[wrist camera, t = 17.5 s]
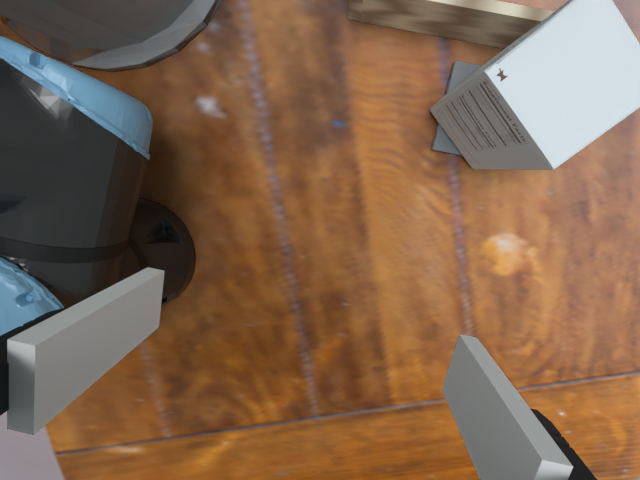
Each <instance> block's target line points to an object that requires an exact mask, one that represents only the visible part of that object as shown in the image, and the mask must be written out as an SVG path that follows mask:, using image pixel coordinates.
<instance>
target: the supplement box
mask: <svg viewBox="0 0 640 480" xmlns="http://www.w3.org/2000/svg"><path fill="white" fill-rule="evenodd" d="M638 108H640V44H639V42H638V40H637V39H636V37H635V36H634V34H633V33H632V31H631V29H630V28H629V26H628V25H627V23H626V21H625V20H624V18H623V17H622V15H621V13H620V12H619V10H618V9H617V7H616V5H615V4H614V2H613V1H612V0H569V1H568V2H566V3H565V4H564V5H562V6H561V7H560V8H558V9H557V10H556V11H554V12H553V13H552V14H551V15H549V16H548V17H547V18H546V19H544V20H543V21H542V22H540V23H539V24H538V25H537V26H535V27H534V28H532V29H531V30H529V31H528V32H527V33H525V34H524V35H522V36H521V37H520V38H518V39H517V40H516V41H514V42H513V43H512V44H510V45H509V46H507V47H506V48H505V49H503V50H502V51H501V52H499V53H498V54H497V55H495V56H494V57H492V58H491V59H489V60H488V61H487V62H485V63H484V64H483V65H482V66H480V67H479V68H478V69H477V70H475V71H474V72H473V73H472V74H471V75H469V76H468V77H467V78H466V79H464V80H463V81H462V82H461V83H459V84H458V85H457V86H456V87H455V88H453V89H452V90H451V91H450V92H449V93H447V94H446V95H445V96H444V97H443V98H441V99H440V100H439V101H438V102H437V103H436V104H434V105H433V106H432V107H431V108H430V111H431V113H432V114H433V115H434V117H435V118H436V120H437V121H438V122H439V124H440V125H441V126H442V128H443V129H444V131H445V132H446V133H447V135H448V136H449V137H450V139H451V140H452V141H453V143H454V144H455V146H456V147H457V148H458V150H459V151H460V152H461V154H462V155H463V157H464V158H465V159H466V161H467V162H468V163H469V165H470V166H471V167H472V169H521V170H554V169H556V168H557V167H558V166H560V165H561V164H562V163H564V162H565V161H567V160H568V159H569V158H571V157H572V156H574V155H575V154H576V153H578V152H579V151H580V150H582V149H583V148H584V147H586V146H587V145H589V144H590V143H591V142H593V141H594V140H595V139H597V138H598V137H600V136H601V135H602V134H604V133H605V132H606V131H608V130H609V129H611V128H612V127H613V126H615V125H616V124H617V123H619V122H620V121H622V120H623V119H625V118H626V117H627V116H629V115H630V114H631V113H633V112H634V111H636V110H637V109H638Z"/></svg>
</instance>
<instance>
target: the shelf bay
mask: <svg viewBox="0 0 640 480" xmlns="http://www.w3.org/2000/svg"><path fill="white" fill-rule="evenodd" d="M553 12H554V11H550V10H545V9H539V8H534V7H529V6H523V5H518V4H512V3H507V2H501V1H496V0H348V20H353V21H359V22H364V23H369V24H375V25H380V26H385V27H391V28H396V29H401V30H407V31H412V32H417V33H423V34H428V35H433V36H439V37H444V38H449V39H455V40H460V41H465V42H471V43H476V44H481V45H487V46H492V47H497V48H503V49H505V48H506V47H507V46H509V45H510V44H512V43H513V42H514V41H516V40H517V39H518V38H520V37H521V36H522V35H524V34H525V33H527V32H528V31H529V30H531V29H532V28H534V27H535V26H537V25H538V24H539V23H540V22H542V21H543V20H544V19H546V18H547V17H548V16H549V15H551V14H552V13H553Z"/></svg>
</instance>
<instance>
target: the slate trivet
mask: <svg viewBox="0 0 640 480" xmlns="http://www.w3.org/2000/svg"><path fill="white" fill-rule="evenodd" d="M480 66H482V65H478V64H472V63H467V62H462V61H457V60H456V61H455V62H454V63H453V64H452V68H451V72H450V76H449V80H448V83H447V87H446V91H445V95H446V94H447V93H449V92H450V91H451V90H452V89H453V88H455V87H456V86H457V85H458V84H459V83H461V82H462V81H463V80H464V79H466V78H467V77H468V76H469V75H471V74H472V73H473V72H474V71H475V70H477V69H478V68H479V67H480ZM445 95H444V96H445ZM430 150H434V151H439V152H444V153H450V154H455V155H460V156H463V155H462V154H461V152H460V151H459V150H458V148H457V147H456V146H455V144H454V143H453V141H452V140H451V139H450V137H449V136H448V135H447V133H446V132H445V131H444V129H443V128H442V126H441V125H440V124H439V122H437V126H436V130H435V134H434V138H433V142H432V146H431V149H430Z"/></svg>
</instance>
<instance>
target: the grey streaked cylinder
mask: <svg viewBox="0 0 640 480" xmlns="http://www.w3.org/2000/svg"><path fill="white" fill-rule="evenodd" d="M222 1H223V0H0V19H1V20H2V21H3V23H4V24H5V25H6V26H8V27H9V28H10V29H12V30H13V31H14V32H15V33H17V34H18V35H19V36H20V37H22V38H23V39H24V40H26V41H27V42H28V43H29V44H31V45H32V46H33V47H35V48H36V49H38V50H40V51H42V52H45V53H47V54H49V55H51V56H54V57H56V58H58V59H60V60H63V61H65V62H67V63H70V64H72V65H75V66H78V67H82V68H89V69H96V70H103V71H110V72H117V71H123V70H130V69H136V68H143V67H148V66H150V65H152V64H154V63H157V62H159V61H161V60H163V59H165V58H167V57H169V56H171V55H173V54H175V53H177V52H179V51H180V50H182V49H183V48H184V47H185V46H186V45H187V44H188V43H189V42H190V41H191V40H192V39H193V38H195V37H196V36H197V35H198V34H199V33H200V32H201V31H202V30H203V29H204V28H205V27H206V26H207V25H208V24H209V22H210V21H211V19H212V17H213V16H214V14H215V13H216V11H217V9H218V8H219V6H220V4H221V3H222Z"/></svg>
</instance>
